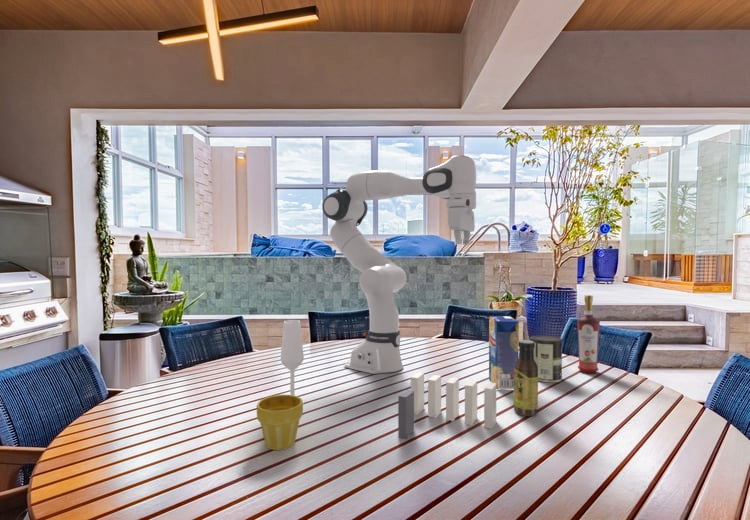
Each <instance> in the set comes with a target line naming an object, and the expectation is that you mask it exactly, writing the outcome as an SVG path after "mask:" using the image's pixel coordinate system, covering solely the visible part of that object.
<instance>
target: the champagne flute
mask: <svg viewBox="0 0 750 520" xmlns="http://www.w3.org/2000/svg"><path fill="white" fill-rule="evenodd" d="M281 338H282V339H281V349H280V362H281V363H282V365H283V366H284V367H285V368H286V369H287V370H289V371H290V372H289V375H290V376H289V381H290V382H289V384H290V386H289V387H290V389H289V390H290V393H289V395H294V396H296V395H295V370H297V368H299V366H300V365H301V364H302V363H303V361H304V359H305V356H304V347H303V346H304V345H303V337H302V327H301V321H300V320H297V319H296V320H295V319H292V320H291V319H289V320H284V321H283V327H282V337H281ZM302 401H303V404H304V403H305V402H304V400H303V399H302Z"/></svg>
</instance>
